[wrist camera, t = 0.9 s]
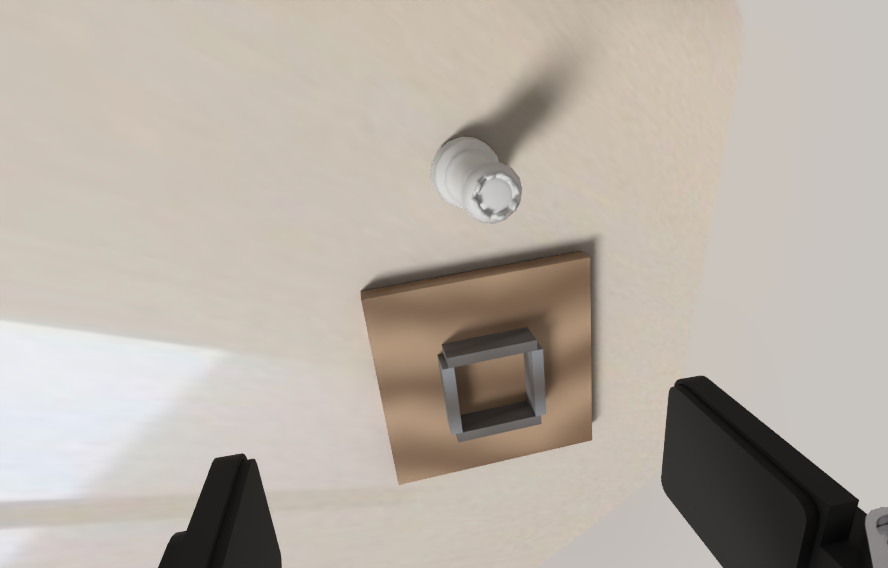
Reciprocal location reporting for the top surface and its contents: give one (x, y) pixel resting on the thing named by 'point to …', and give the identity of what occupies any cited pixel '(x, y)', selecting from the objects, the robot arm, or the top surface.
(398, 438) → the jig board
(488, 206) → the rook chess piece
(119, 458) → the top surface
